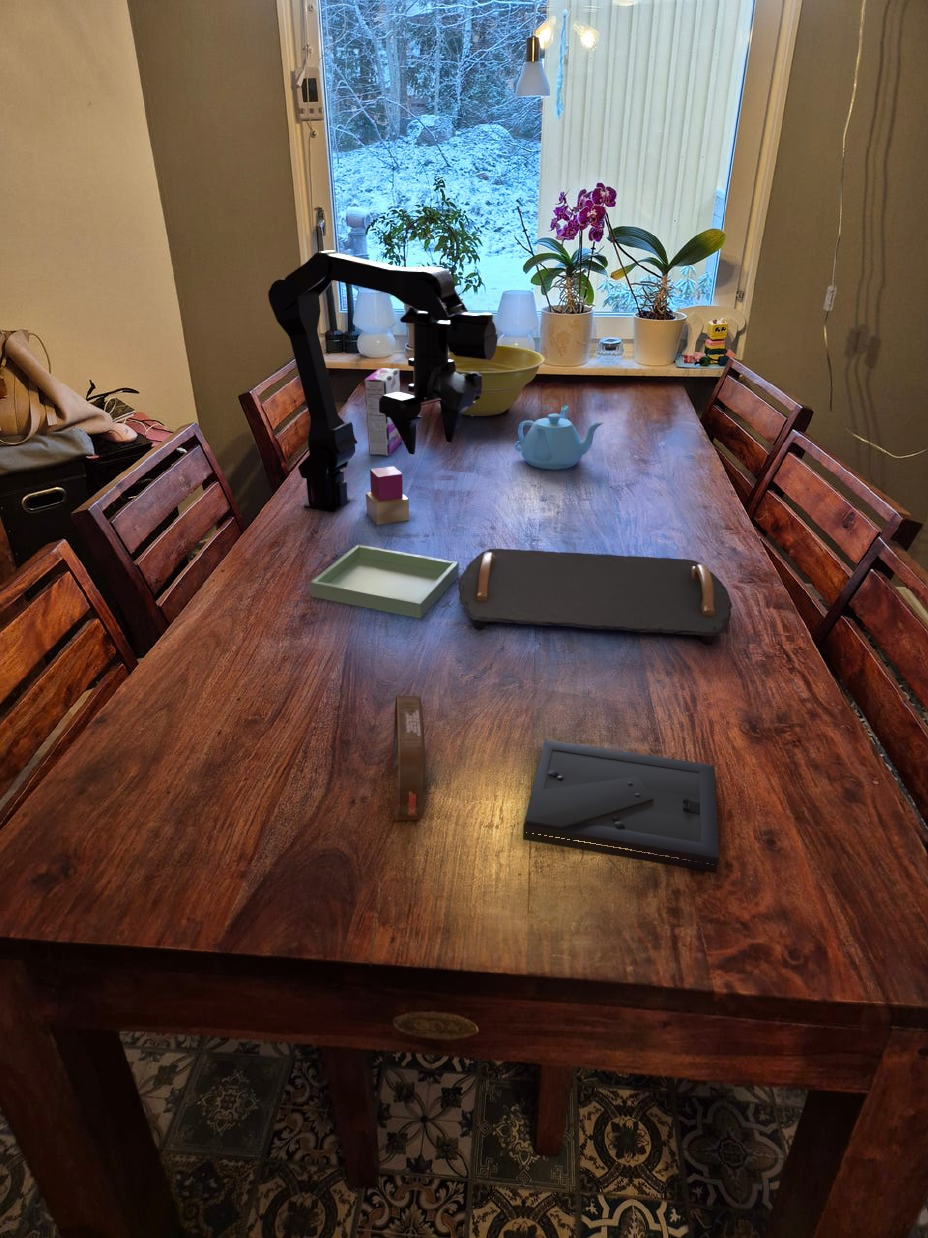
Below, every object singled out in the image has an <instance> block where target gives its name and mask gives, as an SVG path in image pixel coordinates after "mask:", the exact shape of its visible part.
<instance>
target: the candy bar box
mask: <svg viewBox="0 0 928 1238" xmlns="http://www.w3.org/2000/svg"><path fill="white" fill-rule="evenodd" d="M394 392H401V379H400V368H389V367H386V368H385V367H380V368H378V369H377V370H375V371H373V373H371V374H370V375H369V376H367V377H366V378H365V379H364V395H365V410H366V411H365V412H366V425H367V441H368V454H369V455H372V456H385V457H386V456H387V457H389V456H391V455H392V453H394V451H395V450H396V449H397V448H398V446H399V445H401V443H402V442H403V441H402V438H401V436H400V434H399V432H398V430H397V429H396V427H395V425H394V424H393V422H392V420H391V419H390V418H389V417H386V416H385V414H383V413H379V399H380V398H381V397H382V395H385V394H390V393H394Z"/></svg>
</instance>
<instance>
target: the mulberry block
mask: <svg viewBox="0 0 928 1238" xmlns="http://www.w3.org/2000/svg"><path fill="white" fill-rule="evenodd" d="M369 480H370V492H371V494H372V495H373V496H374V497H375V498H376V499H377V500H378V501H386V500H393V499H400V498H403V494H404V486H403V484H404V483H403V473H402V472H401V471H400V470H399V469H397V468H396V466H395V465H391V466H385V467H377V468H376V467H375V468H370V469H369Z"/></svg>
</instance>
